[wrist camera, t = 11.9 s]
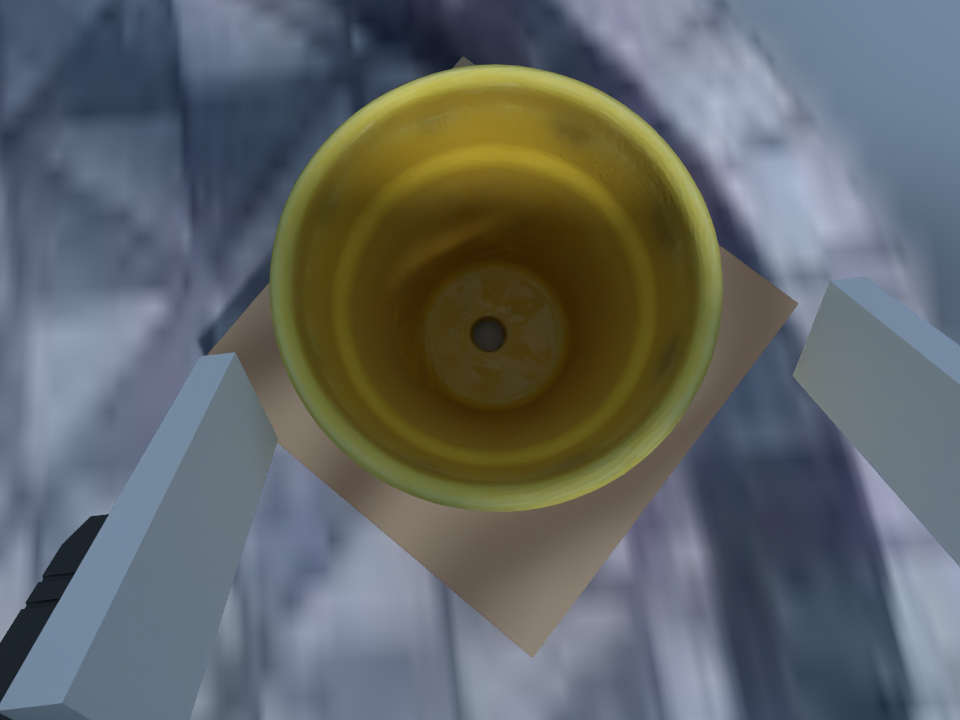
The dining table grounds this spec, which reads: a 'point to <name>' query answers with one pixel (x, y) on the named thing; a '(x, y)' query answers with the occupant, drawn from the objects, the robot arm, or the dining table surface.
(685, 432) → the trivet board
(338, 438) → the plant pot
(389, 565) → the dining table surface
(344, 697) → the dining table surface
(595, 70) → the dining table surface
